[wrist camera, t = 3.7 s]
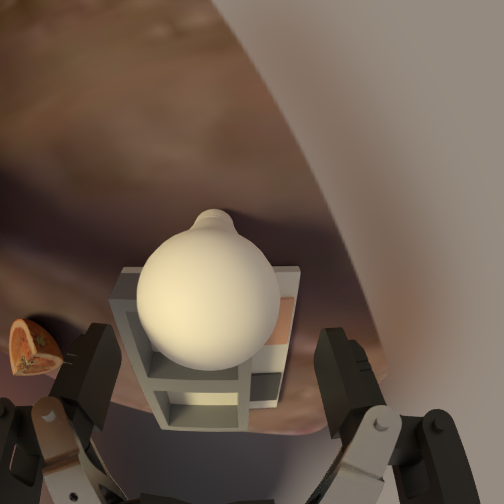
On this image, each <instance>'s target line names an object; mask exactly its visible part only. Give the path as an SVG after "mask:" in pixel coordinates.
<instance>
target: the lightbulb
mask: <svg viewBox="0 0 504 504" xmlns="http://www.w3.org/2000/svg"><path fill="white" fill-rule="evenodd" d="M279 308H280V290H279V284H278V280H277V277H276V274H275V272H274V269H273V267H272V266H271V264H270V263H269V261H268V260H267V259H266V257H265V256H264V254H263V253H262V252H261V250H260V249H259V248H257V247H256V246H255V245H254V244H253V243H252V242H251V241H249V240H247V239H246V238H244V237H242V236H241V235H238V233H237V231H236V229H235V228H234V224H233V221H232V219H231V217H230V216H229V215H228V214H227V213H226V212H224V211H222V210H219V209H209V210H206V211H204V212H202V213H201V214H200V215H199V216H198V217H197V219H196V221H195V223H194V225H193V226H192V227H191V228H190V229H189V230H187V231H184V232H182V233H179V234H177V235H174V236H172V237H171V238H169V239H168V240H166V241H165V242H163V243H162V244H161V245H160V246H159V247H158V248H157V249H156V250H155V252H154V253H153V254H152V255H151V256H150V257H149V258H148V260H147V262H146V264H145V265H144V267H143V269H142V272H141V274H140V278H139V281H138V285H137V310H138V315H139V319H140V322H141V325H142V327H143V329H144V331H145V332H146V334H147V336H148V338H149V339H150V341H151V342H152V343H153V344H154V346H155V347H156V348H157V349H158V350H159V351H160V352H161V353H162V354H163V355H165V356H166V357H167V358H168V359H170V360H172V361H173V362H175V363H177V364H180V365H182V366H184V367H188V368H192V369H196V370H204V371H215V370H223V369H227V368H231V367H234V366H237V365H239V364H241V363H243V362H245V361H246V360H248V359H249V358H251V357H252V356H253V355H255V354H256V353H257V352H258V351H259V350H260V349H261V348H262V347H263V345H264V344H265V343H266V342H267V340H268V339H269V337H270V336H271V334H272V333H273V330H274V328H275V325H276V322H277V319H278V316H279Z"/></svg>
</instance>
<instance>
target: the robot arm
mask: <svg viewBox="0 0 504 504" xmlns="http://www.w3.org/2000/svg"><path fill="white" fill-rule="evenodd" d="M121 359H122V356H121V350H120V347H119V345H118V342H117V339H116V337H115V334H114V331H113V328H112V326H111V325H110V324H101V323H91V325H90V326H89V328H88V330H87V332H86V334H85V335H82V334H81V335H80V336H79V337H78V338H77V339H76V340H75V341H74V342H73V343H72V344H71V346H70V349H69V351H68V353H67V355H66V357H65V359H64V361H63V362H64V364H62V366H61V368H60V370H59V373H58V375H57V377H56V380H55V383H54V385H53V387H52V389H51V392H50V394H49V395H48V396H45V397H42V398H40V399H39V400H37V401H36V403H35V404H34V405H33V406H15V405H14V404H13V403H12V402H11V401H10V400H9V399H7V398H0V504H39V502H40V495H41V488H42V482H43V477H44V480H45V482H46V485H47V487H48V489H49V492H50V494H51V497H52V499H53V501H54V503H55V504H190V503H187V502H184V501H181V500H177V499H175V498H171V497H163V496H156V495H150V494H144V493H141V494H140V498H136V499H131V500H128V499H127V498H126V496H125V494H124V493H123V491H122V490H121V489H120V487H119V486H118V485H117V484H116V483H115V481H114V480H113V479H112V477H111V476H110V474H109V472H108V470H107V468H106V467H105V465H104V463H103V461H102V459H101V457H100V455H99V453H98V451H97V449H96V447H95V445H94V443H93V441H92V439H91V434H92V430H93V431H98V432H102V430H103V426H104V422H105V419H106V415H107V411H108V407H109V403H110V400H111V396H112V393H113V389H114V386H115V382H116V379H117V376H118V372H119V369H120V366H121ZM314 369H315V373H316V377H317V381H318V385H319V389H320V393H321V397H322V401H323V405H324V410H325V414H326V418H327V422H328V426H329V431H330V435H331V439H336V438H341V441H342V446H341V448H340V450H339V451H338V453H337V455H336V457H335V459H334V460H333V462H332V464H331V466H330V467H329V469H328V471H327V473H326V474H325V476H324V477H323V479H322V481H321V482H320V484H319V485H318V486H317V488H316V489H315V490H314V492H313V493H312V494H311V496H310V497H309V499H308V500H307V501H306V503H305V504H376V502H377V500H378V498H379V496H380V493H381V491H382V489H383V486H384V480H383V474H384V471H385V469H386V467H387V465H392V468H393V473H394V477H395V481H396V486H397V491H398V496H399V501H400V504H480V500H479V496H478V492H477V489H476V485H475V482H474V479H473V475H472V472H471V468H470V465H469V462H468V459H467V456H466V453H465V450H464V447H463V445H462V442H461V439H460V436H459V434H458V431H457V428H456V426H455V423H454V421H453V419H452V417H451V416H450V415H449V414H448V413H447V412H446V411H444V410H440V409H434V410H431V411H429V412H428V413H427V414H426V415H425V416H424V417H413V416H402V415H399V414H398V413H397V412H396V411H395V410H394V409H393V408H391V407H388V406H387V405H386V403H385V401H384V398H383V395H382V394H381V390H380V388H379V385H378V383H377V380H376V378H375V375H374V373H373V371H372V368H371V365H370V363H369V362H368V358H367V356H366V353H365V351H364V349H363V348H362V347H361V346H360V345H359V344H358V343H357V342H356V341H355V340H348V339H347V337H346V334H345V332H344V330H343V328H341V327H340V328H324V329H322V330H321V333H320V336H319V340H318V343H317V347H316V350H315V354H314ZM15 445H16V449H15V453H14V457H13V461H12V465H11V470H10V469H9V467H10V462H11V458H12V454H13V450H14V446H15ZM230 504H274V500H273V499H272V500H257V501H238V502H234V503H230Z"/></svg>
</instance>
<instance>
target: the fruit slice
mask: <svg viewBox="0 0 504 504" xmlns="http://www.w3.org/2000/svg"><path fill="white" fill-rule="evenodd" d="M9 355H10V362H11V368H12V372H13V375H15V376H18V375H19V376H20V375H22V376H23V375H24V376H27V375H38V374H44V373H48V372H51V371H53V370H56V369H57V368H59V367H60V366H61V365H62V364H63V363H64V362H63V356H62V354H61V351H60V349H59V347H58V345H57V343H56V342H55V340H54V339H53V337H52V336H51V335H50V334H49V333H48V332H47V331H46V330H45V329H44V328H43V327H41V326H40V325H38V324H36V323H35V322H33V321H31V320H27V319H17V320H15V321H14V323H13V324H12V327H11V331H10V338H9Z"/></svg>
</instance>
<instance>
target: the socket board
mask: <svg viewBox="0 0 504 504" xmlns="http://www.w3.org/2000/svg"><path fill="white" fill-rule="evenodd" d="M272 267H273V269H274V272H275V274H276V277H277V280H278V284H279V290H280V308H279V316H278V319H277V322H276V325H275V328H274V330H273V333H272V334H271V336H270V337H269V339H268V340H267V342H266V343H265V344H264V345H263V347H262V348H261V349H260V350H259V351H258V352H257V353H256V354H255V355H253V356H252V357H251V358H249V359H248V360H246V361H245V362H243V363H241V364H239V365H237V366H234V367H231V368H227V369H223V370H215V371H204V370H196V369H192V368H188V367H184V366H182V365H180V364H177V363H175V362H173V361H172V360H170V359H168V358H167V357H166V356H165V355H163V354H162V353H161V352H160V351H159V350H158V349H157V348H156V347H155V346H154V344H153V343H152V342H151V341H150V339H149V338H148V336H147V334H146V332H145V331H144V329H143V327H142V325H141V322H140V319H139V315H138V310H137V285H138V281H139V278H140V274H141V272H142V269H143V267H123V269H122V271H121V273H120V275H119V277H118V279H117V281H116V283H115V285H114V287H113V289H112V292H111V294H110V296H109V298H108V300H109V304H110V307H111V310H112V313H113V316H114V319H115V322H116V325H117V328H118V330H119V333H120V336H121V339H122V341H123V344H124V347H125V349H126V352H127V354H128V357H129V359H130V362H131V364H132V367H133V369H134V372H135V374H136V376H137V379H138V381H139V383H140V386H141V388H142V390H143V392H144V394H145V397H146V399H147V401H148V403H149V405H150V407H151V409H152V411H153V413H154V415H155V417H156V419H157V421H158V423H159V425H160V427H161V429H168V430H182V431H215V432H217V431H218V432H220V431H248V418H249V409H253V408H271V407H277V402H278V397H279V392H280V388H281V383H282V378H283V373H284V367H285V362H286V357H287V352H288V346H289V341H290V335H291V329H292V324H293V318H294V312H295V306H296V300H297V293H298V287H299V281H300V274H301V271H300V269H299V266H272Z"/></svg>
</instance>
